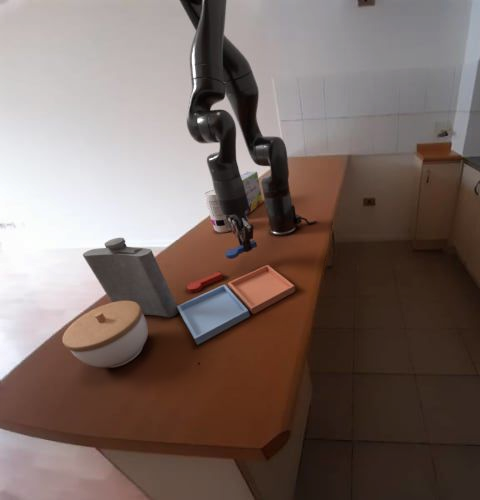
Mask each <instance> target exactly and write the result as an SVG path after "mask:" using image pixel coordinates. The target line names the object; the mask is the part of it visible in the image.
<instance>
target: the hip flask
mask: <svg viewBox="0 0 480 500" xmlns="http://www.w3.org/2000/svg"><path fill="white" fill-rule="evenodd" d="M82 257H83V258H84V260H85V261H86V263H87V265H88V267H89V268H90V270H91V271H92V273H93V275H94V276H95V278H96V279H97V281H98V283H99V284H100V286H101V288H102V289H103V291H104V293H105V294H106V295H107V297H108V299H109V300H110V303H112V302H117V301H133V302H136V303H138V304H139V306H140V307H141V309H142V313H143V315H144V316H146V315H147V316H159V317H164V318H173V317H175V316H177V315H178V314H179V313H180V312H179V310H178V308H177V306H178V305H177V303H176V300H175V298H174V296H173V294H172V291H171V289H170V287H169V285H168V282H167V281H166V278H165V277H164V274H163V273H162V272H163V271H162V270H161V268H160V265H159V263H158V261H157V260H156V257H155V255H154V252H153V250H152V249H151V248H146V247H136V246H134V247H133V246H127V244H126V240H125V238H124V237H114V238H112V239H109V240H107V241H105V242H104V247H98V248H93V249H89V250H87V251H85V252H84V253H82Z"/></svg>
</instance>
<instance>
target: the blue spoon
mask: <svg viewBox="0 0 480 500" xmlns="http://www.w3.org/2000/svg"><path fill="white" fill-rule="evenodd" d="M250 242H251V246H252V250H253V249H255V248H257V247H258V244H257V241H255V240H254V239H251V240H250ZM243 253H246V252H245V251H244V248H243V245H240V244H239V245H238V246H236V247H234V248H229V249H227V250H226V251H225V253H224V255H225V258H226V259H228V260H233V259H235V258H237V257H239V256H240V255H241V254H243Z"/></svg>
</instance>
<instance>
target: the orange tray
mask: <svg viewBox="0 0 480 500" xmlns="http://www.w3.org/2000/svg"><path fill="white" fill-rule="evenodd" d="M227 286H228V288H229V290H230V291H231V292H232V293H233V294H234V295H235V296H236V297H237V298H238V300H239V301H240V302H241V303H242V304H243V305H244V306H245V307H246V309H247V310H248V312H249V313H251V314H252V315H255V314H257V313H258V312H261V311H263V310H265V309H266V308H267V307H270V306H271V305H273V304H275V303H277V302H279V301H281V300H282V299H284V298H286V297H288V296H290V295H291V294H293V293H295V292H296V286H295V285H294V284H293V283H292V282H290V281H289V280H288V279H287V278H285V277H284V276H283V275H282V274H280V272H278V271H276V269H274V268H272V267H271V266H270V265H268V264H265V265H264V266H262V267H259V268H258V269H255V270H253V271H251V272H249V273H246V274H244V275H242V276H240V277H238V278H236V279H233V280H231V281H229V282H227Z"/></svg>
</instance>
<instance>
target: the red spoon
mask: <svg viewBox="0 0 480 500" xmlns="http://www.w3.org/2000/svg"><path fill="white" fill-rule="evenodd" d="M222 279H224V276H223V273H222V272H221V271H217V272H214V273H212V274H210V275H208V276H205V277H203V278H201V279H198V281H197V280H196V281H192V282H190V283H189V284H188V285H187V291H188V293H191V294H194V293H198V292H199V291H202V289H203V288H205V287H206V286H209V285H211V284H213V283H215V282H218V281H221V280H222Z"/></svg>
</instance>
